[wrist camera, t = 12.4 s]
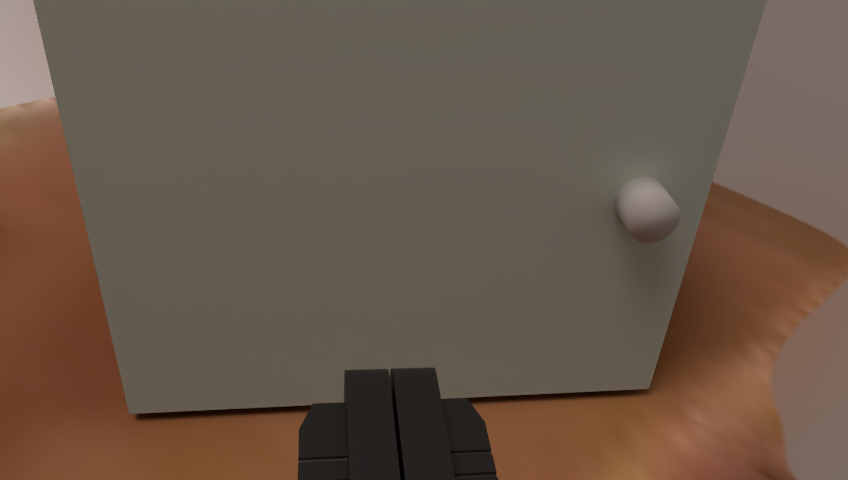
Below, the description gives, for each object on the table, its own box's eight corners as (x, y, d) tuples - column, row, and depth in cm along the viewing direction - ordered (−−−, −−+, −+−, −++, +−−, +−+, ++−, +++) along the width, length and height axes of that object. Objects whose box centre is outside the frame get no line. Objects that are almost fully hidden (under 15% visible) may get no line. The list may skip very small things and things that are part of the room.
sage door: (661, 414, 35) (798, -8, 24) (121, 442, 32) (5, -24, 21) (640, 371, 37) (756, -31, 26) (134, 393, 34) (36, -49, 23)
